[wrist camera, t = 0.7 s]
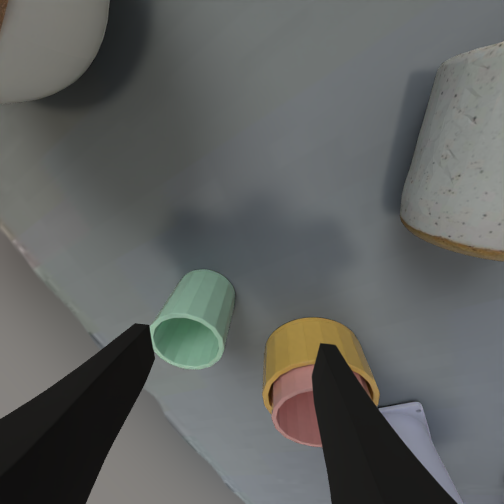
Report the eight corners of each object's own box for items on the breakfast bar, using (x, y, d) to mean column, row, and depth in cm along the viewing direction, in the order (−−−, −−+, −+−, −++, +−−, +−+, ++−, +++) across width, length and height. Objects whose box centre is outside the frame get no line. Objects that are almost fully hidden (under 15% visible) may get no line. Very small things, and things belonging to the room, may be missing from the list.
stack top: (361, 369, 23) (387, 439, 18) (288, 385, 25) (293, 453, 20) (338, 313, 21) (362, 376, 15) (259, 336, 23) (255, 399, 17)
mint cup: (245, 307, 21) (236, 359, 16) (197, 323, 22) (175, 376, 17) (217, 260, 19) (198, 303, 14) (166, 281, 21) (133, 327, 16)
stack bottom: (370, 372, 23) (390, 421, 19) (285, 391, 26) (287, 438, 22) (344, 304, 20) (361, 347, 16) (249, 333, 22) (244, 376, 18)
